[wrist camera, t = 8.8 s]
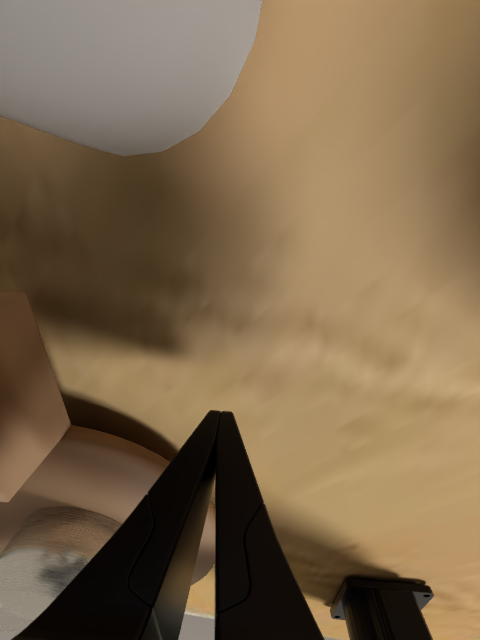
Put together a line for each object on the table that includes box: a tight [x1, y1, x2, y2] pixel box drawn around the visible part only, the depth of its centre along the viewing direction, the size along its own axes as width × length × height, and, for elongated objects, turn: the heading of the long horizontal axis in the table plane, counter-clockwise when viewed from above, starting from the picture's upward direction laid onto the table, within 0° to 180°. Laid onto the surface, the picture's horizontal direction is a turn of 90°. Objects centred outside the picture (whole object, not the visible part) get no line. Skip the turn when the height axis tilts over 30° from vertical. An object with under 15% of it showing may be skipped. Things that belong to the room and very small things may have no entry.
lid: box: [0, 507, 122, 636], centre depth 12 cm, size 7×7×3 cm
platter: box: [0, 291, 215, 585], centre depth 12 cm, size 22×16×3 cm
